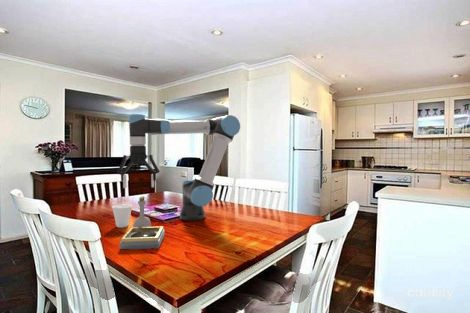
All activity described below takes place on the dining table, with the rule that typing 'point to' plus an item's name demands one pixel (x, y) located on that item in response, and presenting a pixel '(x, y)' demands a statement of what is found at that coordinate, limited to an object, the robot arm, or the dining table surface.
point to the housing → (142, 238)
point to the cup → (122, 214)
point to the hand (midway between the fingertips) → (139, 187)
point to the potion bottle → (142, 215)
